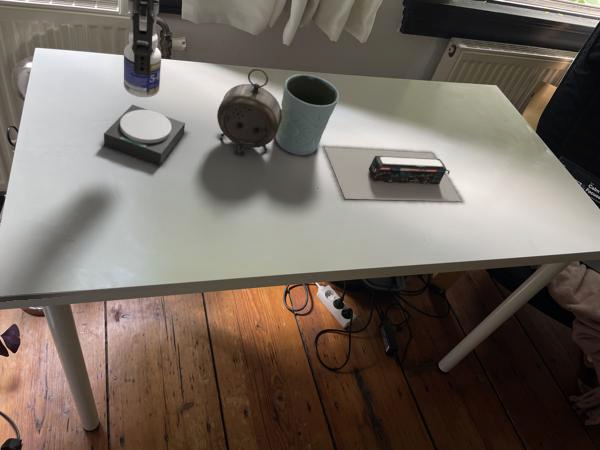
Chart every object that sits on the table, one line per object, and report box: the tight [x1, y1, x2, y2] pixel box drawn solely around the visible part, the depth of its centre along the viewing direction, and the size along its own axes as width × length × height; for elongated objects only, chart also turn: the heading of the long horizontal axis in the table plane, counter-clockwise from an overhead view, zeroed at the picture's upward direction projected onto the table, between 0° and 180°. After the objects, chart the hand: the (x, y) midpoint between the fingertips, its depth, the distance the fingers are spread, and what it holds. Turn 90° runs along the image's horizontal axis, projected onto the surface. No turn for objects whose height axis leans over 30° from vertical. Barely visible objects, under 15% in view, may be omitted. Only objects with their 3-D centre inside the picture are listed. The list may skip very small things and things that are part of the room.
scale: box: [103, 104, 186, 165], centre depth 85 cm, size 10×10×3 cm
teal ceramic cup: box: [275, 73, 340, 156], centre depth 92 cm, size 10×10×12 cm
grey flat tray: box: [324, 147, 462, 202], centre depth 95 cm, size 14×25×4 cm, turn 103°
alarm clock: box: [216, 67, 282, 154], centre depth 85 cm, size 11×5×16 cm, turn 80°
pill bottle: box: [123, 30, 162, 98], centre depth 73 cm, size 5×5×9 cm
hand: (142, 62), depth 73 cm, fingers closed on pill bottle, 5 cm apart
